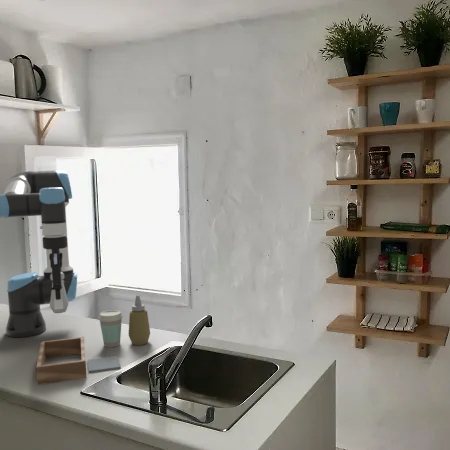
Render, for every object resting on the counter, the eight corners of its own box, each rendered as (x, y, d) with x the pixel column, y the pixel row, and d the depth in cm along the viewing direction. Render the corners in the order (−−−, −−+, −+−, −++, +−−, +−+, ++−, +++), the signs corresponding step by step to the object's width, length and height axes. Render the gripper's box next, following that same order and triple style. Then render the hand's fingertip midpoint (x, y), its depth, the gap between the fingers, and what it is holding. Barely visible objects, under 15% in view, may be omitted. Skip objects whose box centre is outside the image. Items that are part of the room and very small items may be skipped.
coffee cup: (128, 342, 188) (126, 311, 186) (114, 349, 180) (112, 317, 179) (109, 339, 191) (108, 308, 190) (95, 346, 184) (93, 315, 182)
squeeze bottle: (124, 345, 184) (122, 297, 182) (136, 338, 192) (134, 292, 190) (143, 347, 181) (141, 299, 179) (154, 340, 189) (152, 293, 187)
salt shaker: (63, 314, 160) (60, 274, 159) (46, 313, 161) (44, 274, 160) (72, 309, 166) (69, 270, 164) (56, 308, 167) (53, 270, 165)
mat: (88, 361, 170) (87, 359, 170) (118, 357, 173) (117, 355, 172) (88, 372, 160) (88, 370, 160) (120, 368, 163) (120, 366, 163)
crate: (42, 356, 175) (41, 341, 174) (84, 351, 179) (84, 336, 178) (37, 384, 152) (36, 367, 151) (86, 378, 156) (85, 361, 156)
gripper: (43, 232, 168) (48, 300, 171) (40, 240, 150) (45, 315, 153) (67, 231, 171) (71, 297, 173) (66, 239, 153) (71, 312, 155)
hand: (59, 305), depth 163 cm, fingers closed on salt shaker, 6 cm apart
